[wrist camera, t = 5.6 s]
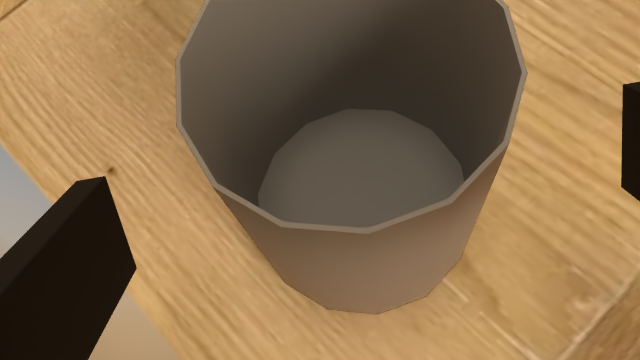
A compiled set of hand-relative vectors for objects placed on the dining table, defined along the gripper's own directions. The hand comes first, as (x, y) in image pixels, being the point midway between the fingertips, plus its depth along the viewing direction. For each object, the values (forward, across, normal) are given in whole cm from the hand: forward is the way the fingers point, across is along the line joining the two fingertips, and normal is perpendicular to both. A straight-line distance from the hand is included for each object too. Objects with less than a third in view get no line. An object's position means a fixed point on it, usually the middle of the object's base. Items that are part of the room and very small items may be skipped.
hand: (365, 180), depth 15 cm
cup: (+7, 0, -4) cm, 9 cm away
